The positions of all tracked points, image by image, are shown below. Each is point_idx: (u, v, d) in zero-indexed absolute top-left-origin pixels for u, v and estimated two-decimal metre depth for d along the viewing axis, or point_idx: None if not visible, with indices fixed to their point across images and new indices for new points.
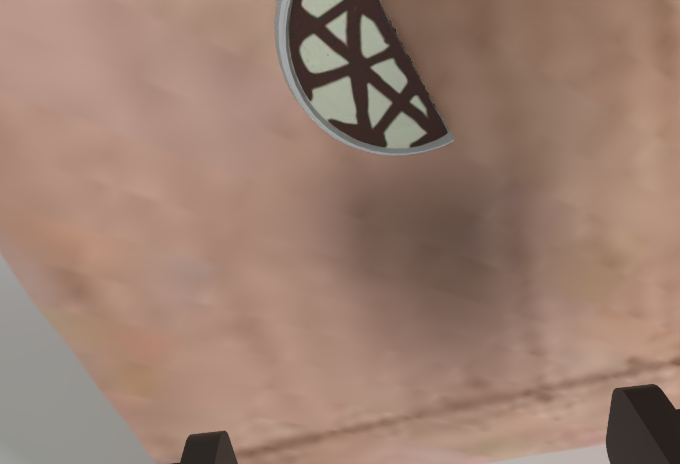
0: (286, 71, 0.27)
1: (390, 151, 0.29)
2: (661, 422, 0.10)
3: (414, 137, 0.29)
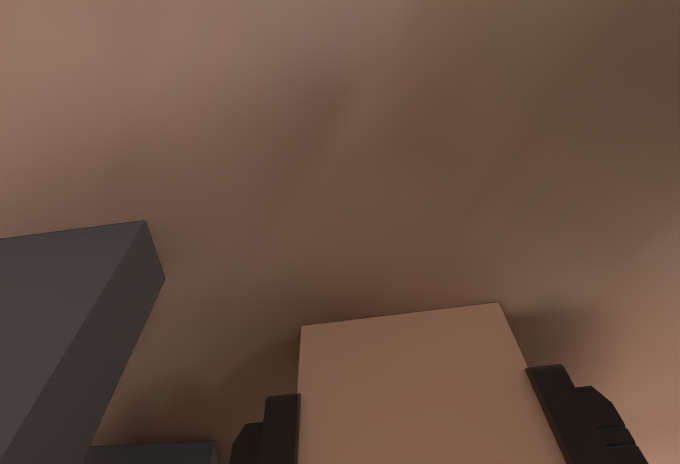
0: None
1: None
2: (558, 397, 0.11)
3: None
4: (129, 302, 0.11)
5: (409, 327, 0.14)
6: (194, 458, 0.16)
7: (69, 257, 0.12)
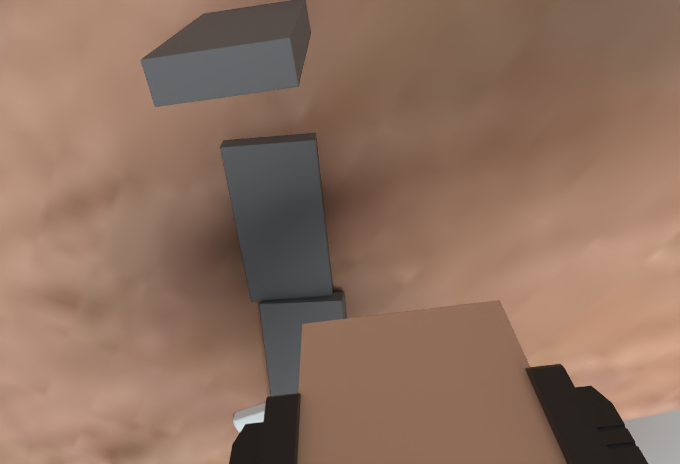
0: None
1: None
2: (558, 397, 0.11)
3: None
4: (306, 23, 0.26)
5: (409, 325, 0.14)
6: (306, 137, 0.30)
7: (277, 6, 0.26)
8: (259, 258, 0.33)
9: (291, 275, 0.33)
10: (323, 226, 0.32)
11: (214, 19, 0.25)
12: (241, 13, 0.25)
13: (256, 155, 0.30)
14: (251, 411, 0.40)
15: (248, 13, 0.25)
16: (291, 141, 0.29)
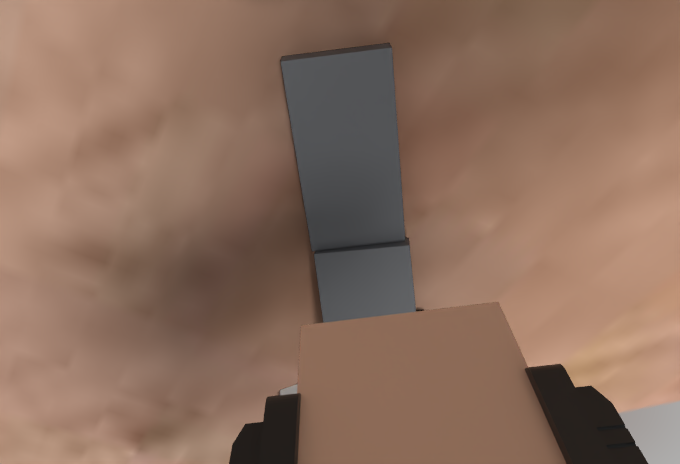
0: None
1: None
2: (559, 397, 0.11)
3: None
4: None
5: (409, 327, 0.14)
6: (380, 46, 0.25)
7: None
8: (322, 198, 0.28)
9: (359, 217, 0.29)
10: (398, 155, 0.27)
11: None
12: None
13: (322, 70, 0.25)
14: None
15: None
16: (364, 50, 0.25)
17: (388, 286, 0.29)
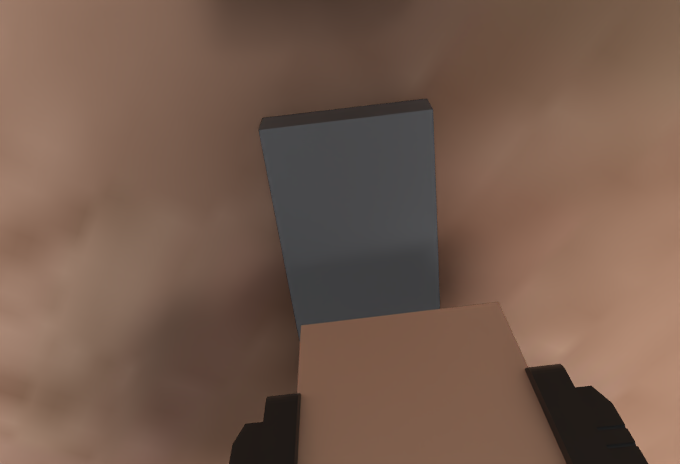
0: None
1: None
2: (559, 398, 0.11)
3: None
4: None
5: (408, 327, 0.14)
6: (414, 105, 0.16)
7: None
8: (324, 318, 0.19)
9: None
10: (436, 262, 0.18)
11: None
12: None
13: (323, 142, 0.16)
14: None
15: None
16: (389, 114, 0.16)
17: None
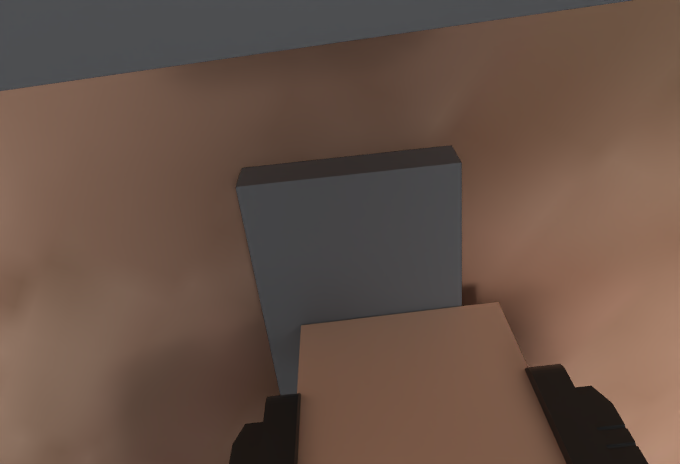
0: None
1: None
2: (558, 397, 0.11)
3: None
4: None
5: (409, 327, 0.14)
6: (436, 155, 0.13)
7: None
8: None
9: None
10: None
11: None
12: None
13: (319, 202, 0.13)
14: None
15: None
16: (404, 167, 0.12)
17: None
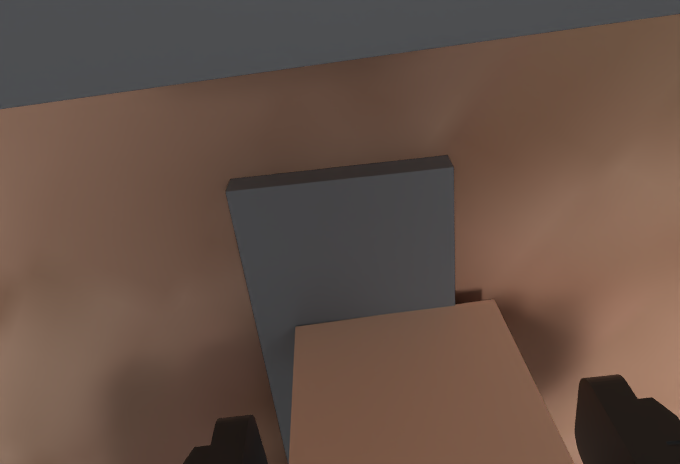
0: None
1: None
2: (622, 410, 0.10)
3: None
4: None
5: (404, 326, 0.13)
6: (429, 160, 0.13)
7: None
8: None
9: None
10: None
11: None
12: None
13: (310, 207, 0.13)
14: None
15: None
16: (396, 172, 0.12)
17: None
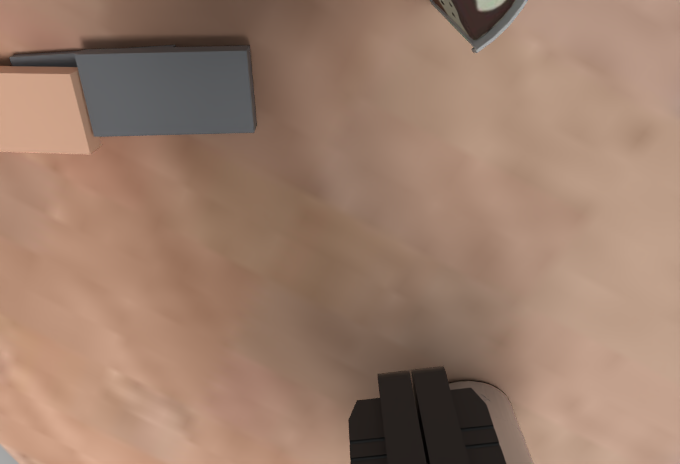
0: None
1: None
2: (432, 399, 0.11)
3: None
4: None
5: (72, 118, 0.34)
6: None
7: (230, 114, 0.35)
8: None
9: None
10: None
11: (203, 70, 0.33)
12: (216, 88, 0.34)
13: None
14: None
15: (210, 95, 0.34)
16: None
17: None
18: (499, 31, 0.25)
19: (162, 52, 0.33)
